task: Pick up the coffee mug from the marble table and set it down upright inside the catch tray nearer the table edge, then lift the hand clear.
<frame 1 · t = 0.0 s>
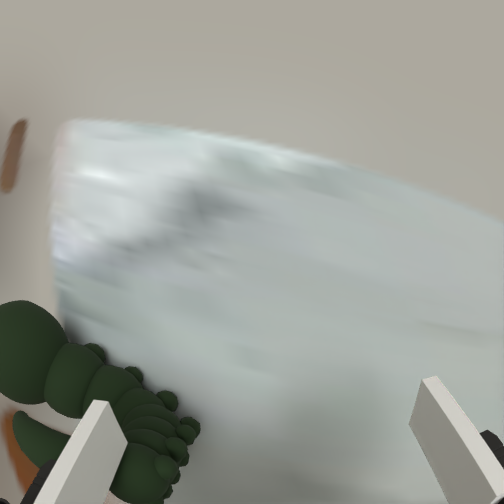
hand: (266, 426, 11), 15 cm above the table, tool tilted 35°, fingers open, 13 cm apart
toy figurine: (98, 381, 26), on the table
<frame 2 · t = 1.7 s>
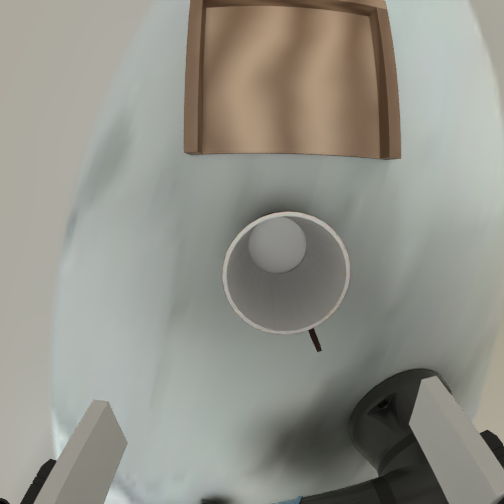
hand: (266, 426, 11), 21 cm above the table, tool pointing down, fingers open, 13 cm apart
catch tray: (292, 69, 26), on the table
coffee mug: (276, 259, 31), on the table
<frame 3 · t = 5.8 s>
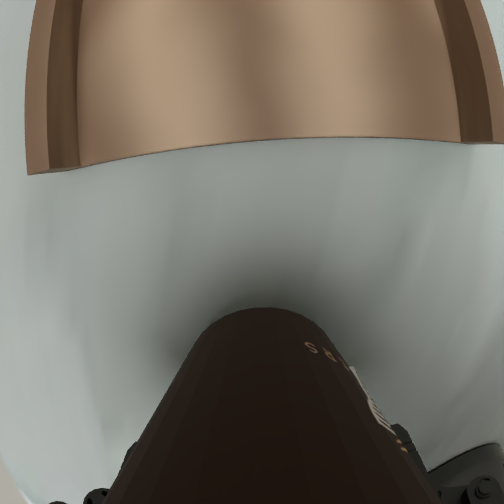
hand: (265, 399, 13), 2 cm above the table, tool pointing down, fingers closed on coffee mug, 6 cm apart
coffee mug: (263, 396, 13), point 2 cm above the table, touching gripper
when the fingers open (3 cm above the table, at t = 11.7 s): coffee mug stays where it is, resting on catch tray.
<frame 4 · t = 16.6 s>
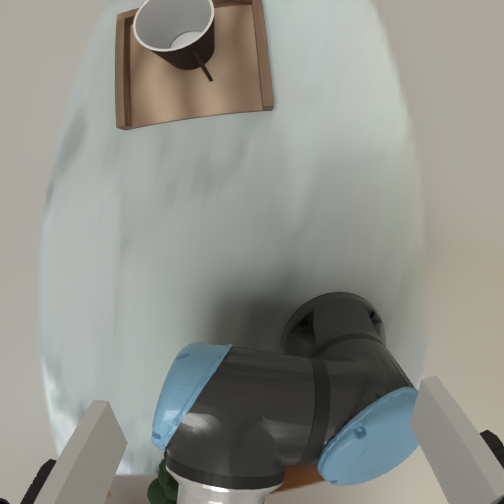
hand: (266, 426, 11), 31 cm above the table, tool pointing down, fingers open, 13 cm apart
catch tray: (191, 57, 34), on the table
coffee mug: (190, 59, 34), resting on catch tray
toy figurine: (178, 462, 53), on the table
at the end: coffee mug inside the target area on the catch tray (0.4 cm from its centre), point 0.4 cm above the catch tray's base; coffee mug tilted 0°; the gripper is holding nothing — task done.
